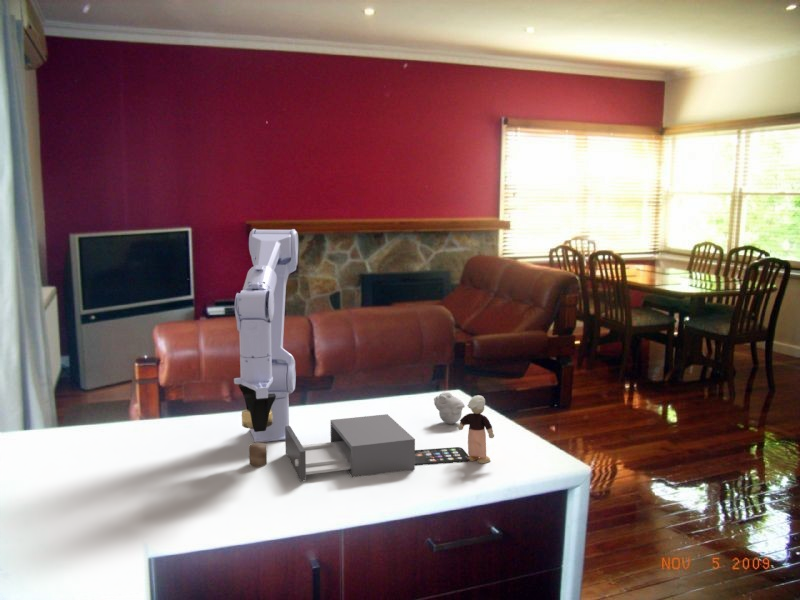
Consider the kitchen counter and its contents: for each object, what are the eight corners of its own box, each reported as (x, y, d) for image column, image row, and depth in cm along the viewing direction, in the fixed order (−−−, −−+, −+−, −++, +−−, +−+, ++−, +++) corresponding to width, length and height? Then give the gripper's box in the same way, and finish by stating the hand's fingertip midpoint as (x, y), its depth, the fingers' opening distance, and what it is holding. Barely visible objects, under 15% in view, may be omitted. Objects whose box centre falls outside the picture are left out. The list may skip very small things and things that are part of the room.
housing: (330, 447, 139) (330, 419, 138) (387, 441, 143) (387, 414, 142) (352, 477, 124) (352, 446, 123) (414, 469, 128) (414, 439, 127)
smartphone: (388, 451, 136) (461, 446, 139) (388, 455, 136) (461, 449, 139) (395, 465, 129) (472, 459, 132) (395, 469, 129) (472, 463, 132)
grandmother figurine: (497, 459, 133) (499, 395, 132) (491, 465, 130) (493, 400, 128) (460, 452, 136) (461, 390, 135) (453, 459, 133) (454, 395, 131)
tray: (283, 453, 135) (282, 426, 134) (343, 446, 139) (343, 420, 138) (297, 481, 121) (297, 452, 120) (365, 473, 125) (365, 444, 125)
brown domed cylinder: (248, 461, 131) (248, 443, 131) (265, 459, 132) (265, 442, 132) (250, 467, 128) (250, 449, 128) (268, 465, 129) (267, 447, 129)
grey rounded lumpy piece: (435, 418, 159) (435, 388, 158) (466, 420, 157) (466, 390, 156) (431, 426, 153) (431, 395, 152) (463, 428, 151) (463, 397, 150)
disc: (240, 421, 131) (240, 408, 130) (270, 418, 133) (269, 406, 132) (244, 430, 126) (243, 417, 125) (274, 426, 127) (274, 414, 127)
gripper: (229, 347, 133) (231, 416, 135) (238, 365, 119) (240, 440, 121) (266, 345, 135) (267, 412, 137) (279, 362, 121) (280, 436, 123)
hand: (257, 425), depth 129 cm, fingers closed on disc, 6 cm apart
